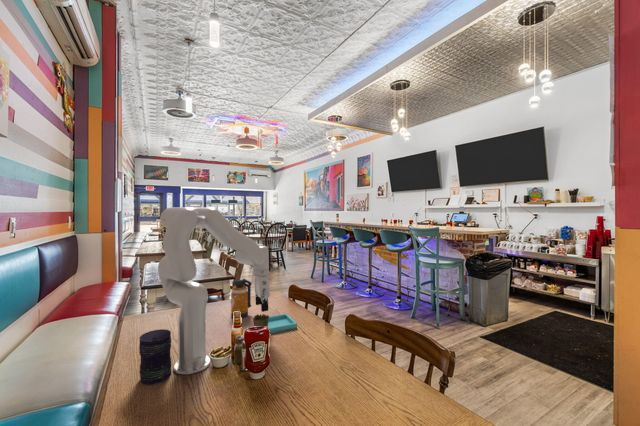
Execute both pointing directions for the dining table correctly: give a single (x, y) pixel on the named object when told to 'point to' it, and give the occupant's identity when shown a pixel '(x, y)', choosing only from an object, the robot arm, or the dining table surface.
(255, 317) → the cup
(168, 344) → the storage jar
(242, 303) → the canister
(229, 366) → the dining table surface
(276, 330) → the dish
